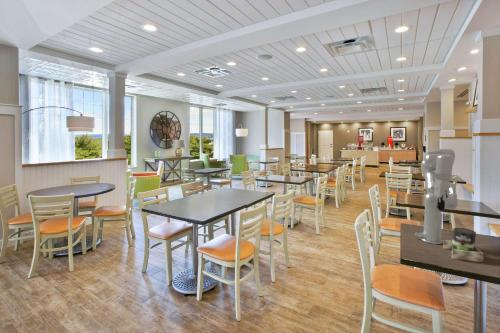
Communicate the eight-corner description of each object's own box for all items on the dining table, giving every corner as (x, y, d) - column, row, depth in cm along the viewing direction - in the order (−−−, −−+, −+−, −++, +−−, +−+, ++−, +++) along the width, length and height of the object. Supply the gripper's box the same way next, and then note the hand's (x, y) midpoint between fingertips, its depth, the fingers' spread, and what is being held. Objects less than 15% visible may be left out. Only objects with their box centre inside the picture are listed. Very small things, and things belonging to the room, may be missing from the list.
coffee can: (473, 259, 152) (475, 235, 151) (450, 254, 159) (452, 230, 158) (474, 254, 160) (476, 230, 158) (452, 249, 167) (454, 226, 165)
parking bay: (452, 258, 154) (452, 249, 153) (443, 247, 169) (443, 239, 168) (482, 262, 149) (483, 253, 149) (470, 251, 164) (471, 242, 163)
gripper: (431, 175, 164) (429, 205, 166) (439, 178, 150) (437, 211, 152) (446, 175, 161) (443, 206, 163) (456, 179, 147) (453, 213, 149)
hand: (440, 208), depth 157 cm, fingers closed
